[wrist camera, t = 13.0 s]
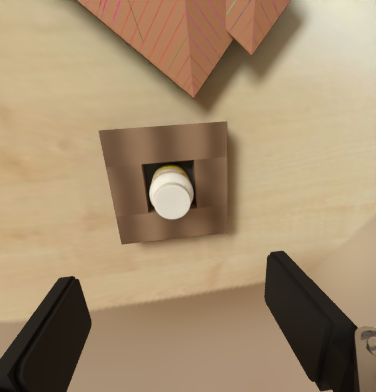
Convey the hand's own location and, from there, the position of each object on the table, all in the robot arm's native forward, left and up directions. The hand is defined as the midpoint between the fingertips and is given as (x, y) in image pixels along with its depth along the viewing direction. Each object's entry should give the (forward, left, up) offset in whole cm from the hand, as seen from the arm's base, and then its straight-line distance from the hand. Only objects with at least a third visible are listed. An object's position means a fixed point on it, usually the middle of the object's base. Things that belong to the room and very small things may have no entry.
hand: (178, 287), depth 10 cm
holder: (0, 0, -22) cm, 22 cm away
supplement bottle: (0, 0, -22) cm, 22 cm away
